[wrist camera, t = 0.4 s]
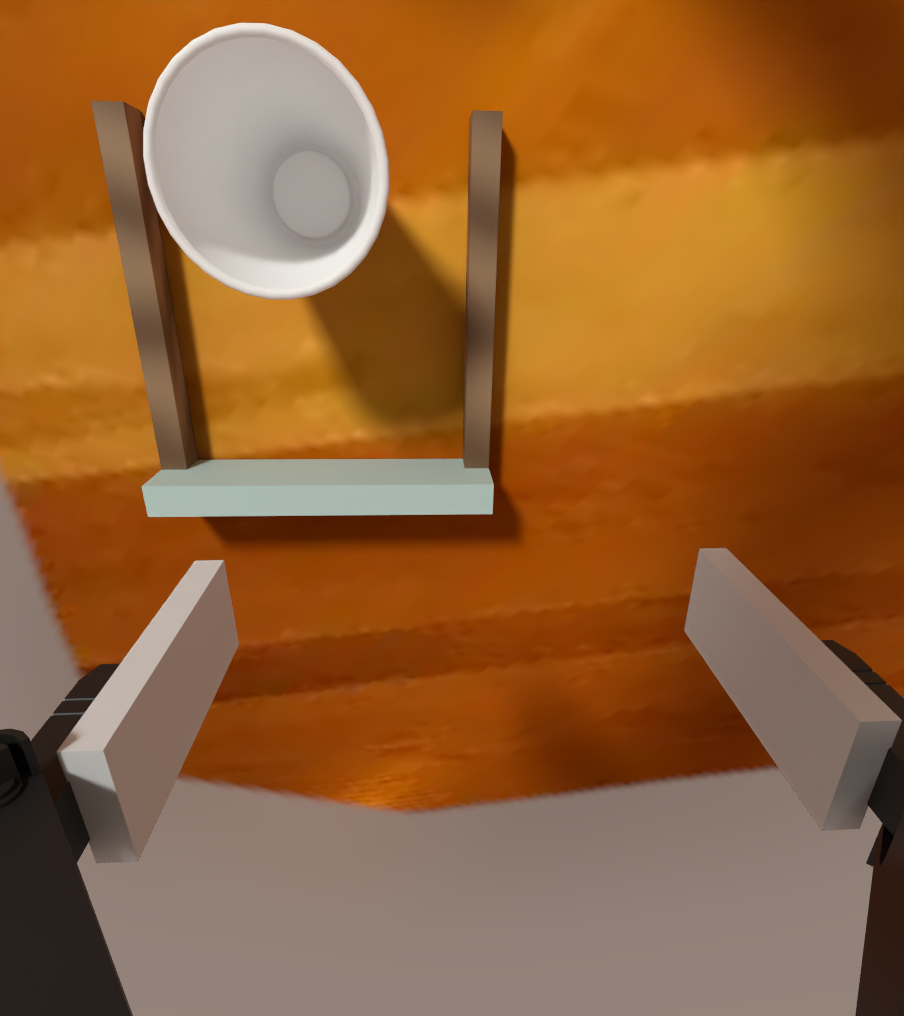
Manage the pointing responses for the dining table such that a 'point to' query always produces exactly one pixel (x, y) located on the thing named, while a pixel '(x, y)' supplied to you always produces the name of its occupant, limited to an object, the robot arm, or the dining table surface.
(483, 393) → the channel
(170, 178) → the cup
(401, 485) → the block
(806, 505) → the dining table surface
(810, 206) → the dining table surface
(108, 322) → the dining table surface
